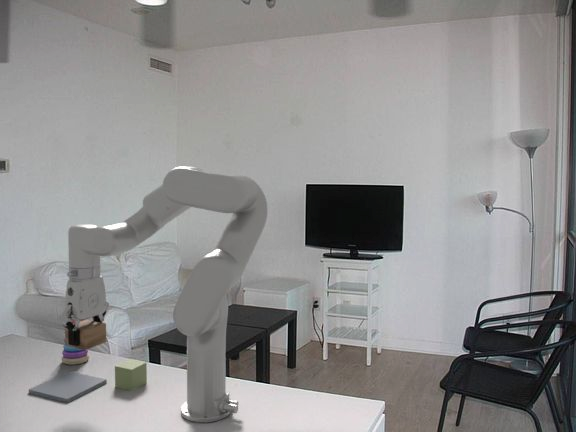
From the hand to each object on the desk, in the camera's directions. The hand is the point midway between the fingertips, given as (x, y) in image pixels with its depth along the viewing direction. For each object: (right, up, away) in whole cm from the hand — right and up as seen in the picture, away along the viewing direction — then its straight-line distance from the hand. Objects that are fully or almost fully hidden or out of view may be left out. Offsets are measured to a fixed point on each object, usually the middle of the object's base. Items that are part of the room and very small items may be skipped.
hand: (85, 340), depth 134 cm
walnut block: (0, -1, 0) cm, 1 cm away
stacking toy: (-14, -14, +29) cm, 35 cm away
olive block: (+8, -15, +11) cm, 21 cm away
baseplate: (-8, -15, +9) cm, 19 cm away
